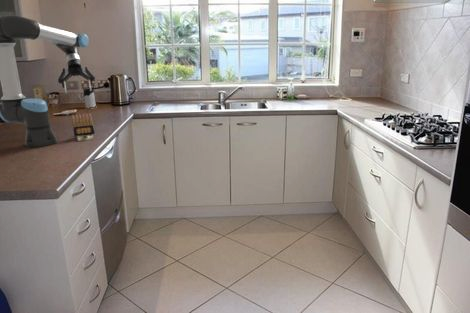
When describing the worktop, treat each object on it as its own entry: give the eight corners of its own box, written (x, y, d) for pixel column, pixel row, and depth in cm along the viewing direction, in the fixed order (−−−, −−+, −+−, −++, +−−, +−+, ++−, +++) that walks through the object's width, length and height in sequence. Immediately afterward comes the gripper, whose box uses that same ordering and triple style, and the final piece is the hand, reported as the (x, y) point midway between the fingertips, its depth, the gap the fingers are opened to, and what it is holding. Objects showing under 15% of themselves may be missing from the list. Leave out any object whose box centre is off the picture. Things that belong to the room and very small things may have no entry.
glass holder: (92, 108, 310) (90, 90, 306) (77, 108, 314) (74, 90, 309) (98, 106, 319) (96, 88, 314) (83, 106, 322) (81, 88, 318)
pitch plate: (78, 141, 207) (77, 137, 206) (76, 134, 222) (76, 131, 221) (93, 139, 210) (93, 135, 209) (91, 133, 225) (90, 129, 224)
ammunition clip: (94, 133, 218) (91, 112, 214) (94, 133, 216) (91, 112, 213) (74, 135, 215) (70, 114, 211) (74, 136, 213) (70, 114, 209)
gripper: (95, 65, 241) (101, 92, 233) (52, 68, 232) (56, 96, 224) (95, 57, 235) (100, 84, 226) (50, 59, 226) (54, 88, 217)
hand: (78, 90), depth 225 cm, fingers open, 13 cm apart
